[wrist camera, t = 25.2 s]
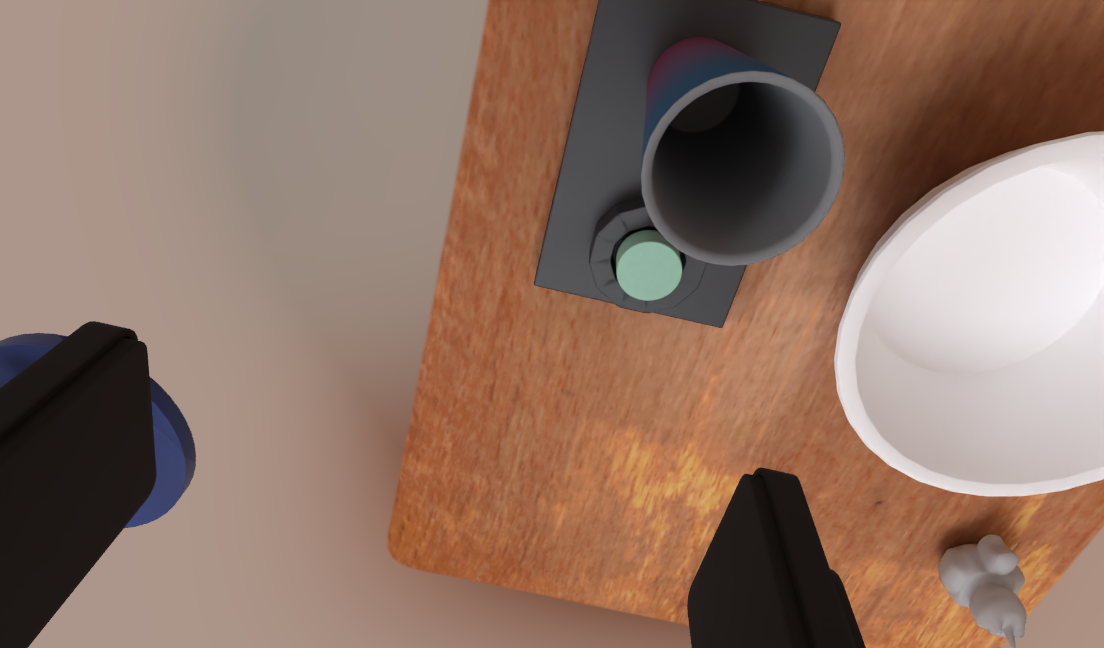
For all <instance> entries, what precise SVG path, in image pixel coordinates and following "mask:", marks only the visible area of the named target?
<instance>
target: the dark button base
mask: <svg viewBox="0 0 1104 648" xmlns="http://www.w3.org/2000/svg"><path fill="white" fill-rule="evenodd" d="M840 26H841V23H840V22H838V21H835V20H833V19H829V18H825V17H821V16H817V15H813V14H809V13H805V12H801V11H797V10H793V9H789V8H786V7H782V6H778V5H774V4H770V3H766V2H762V1H758V0H599V2H598V6H597V11H596V15H595V19H594V24H593V28H592V32H591V37H590V41H589V46H588V50H587V54H586V59H585V63H584V67H583V72H582V76H581V80H580V85H579V89H578V93H577V98H576V102H575V106H574V111H573V115H572V119H571V124H570V128H569V132H568V137H567V141H566V145H565V150H564V154H563V158H562V163H561V167H560V171H559V176H558V180H557V184H556V189H555V193H554V197H553V202H552V206H551V210H550V215H549V219H548V223H547V228H546V232H545V236H544V241H543V245H542V249H541V254H540V258H539V262H538V267H537V271H536V276H535V281H534V285H535V286H539V287H544V288H548V289H552V290H557V291H561V292H565V293H570V294H574V295H579V296H583V297H587V298H592V299H596V300H601V301H605V302H609V303H614V304H616V305H617V306H619V307H621V308H625V309H630V310H634V311H639V312H643V313H651V312H653V313H658V314H662V315H666V316H671V317H675V318H680V319H684V320H688V321H693V322H697V323H701V324H706V325H710V326H715V327H719V328H722V327H723V325H724V322H725V320H726V317H727V315H728V312H729V310H730V307H731V304H732V302H733V299H734V297H735V294H736V292H737V289H738V287H739V284H740V281H741V279H742V276H743V274H744V271H745V269H746V266H747V265H735V266H729V265H718V264H711V263H708V262H704V261H701V260H697V259H695V258H693V257H691V256H689V255H687V254H685V253H683V252H681V251H679V254H680V258H681V263H682V276H681V280H680V282H679V284H678V285H677V287H676V288H675V289H674V290H673V291H672V292H671V293H670V294H668V295H667V296H665V297H663V298H661V299H657V300H651V301H645V300H639V299H636V298H634V297H632V296H630V295H629V294H627V293H626V292H625V291H624V290H623V289H622V287H621V286H620V284H619V282H618V279H617V274H616V256H617V252H618V249H619V247H620V245H621V244H622V242H623V241H624V240H625V239H626V238H627V237H629V236H630V235H632V234H634V233H636V232H639V231H643V230H655V231H658V230H657V228H656V227H655V226H654V224H653V222H652V220H651V218H650V216H649V214H648V212H647V210H646V207H645V203H644V200H643V196H642V189H641V163H642V150H643V136H644V123H645V110H646V97H647V86H648V79H649V76H650V73H651V69H652V68H653V66H654V64H655V62H656V60H657V59H658V58H659V57H660V56H661V54H662V53H663V52H664V51H665V50H667V49H668V48H669V47H670V46H672V45H673V44H675V43H677V42H679V41H681V40H684V39H687V38H692V37H709V38H712V39H715V40H718V41H720V42H722V43H724V44H726V45H728V46H730V47H732V48H734V49H736V50H738V51H740V52H742V53H744V54H746V55H748V56H750V57H752V58H754V59H756V60H758V61H760V62H762V63H764V64H766V65H768V66H770V67H772V68H774V69H776V70H778V71H780V72H782V73H784V74H786V75H788V76H790V77H792V78H793V79H795V80H797V81H799V82H800V83H802V84H804V85H806V86H807V87H809V88H811V89H812V90H813V91H814V92H815V90H816V88H817V85H818V83H819V80H820V77H821V75H822V72H823V70H824V67H825V65H826V62H827V60H828V57H829V54H830V52H831V49H832V47H833V44H834V42H835V39H836V37H837V34H838V32H839V29H840Z"/></svg>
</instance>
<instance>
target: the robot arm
mask: <svg viewBox="0 0 1104 648" xmlns="http://www.w3.org/2000/svg"><path fill="white" fill-rule="evenodd" d="M156 476H157V471H156V458H155V445H154V432H153V418H152V405H151V392H150V379H149V366H148V353H147V347H146V345H145V343H143V342H141V341H138V339H137V335H136V334H135V332H134V331H132V330H131V329H127V328H122V327H118V326H113V325H109V324H104V323H100V322H95V321H93V322H88V323H86V324H84V325H83V326H81V327H80V328H79V329H77V330H76V331H75V332H73V333H72V334H71V335H69V336H68V337H67V338H65V339H64V340H63V341H62V342H60V343H59V344H58V345H56V346H55V347H54V348H52V349H51V350H50V351H48V352H47V353H46V354H44V355H43V356H42V357H40V358H39V359H38V360H37V361H35V362H34V363H33V364H31V365H30V366H29V367H27V368H26V369H25V370H23V371H22V372H21V373H19V374H18V375H17V376H16V377H14V378H13V379H12V380H10V381H9V382H8V383H6V384H5V385H4V386H2V387H1V388H0V648H28V647H29V645H30V644H31V643H32V642H33V640H34V639H35V638H36V637H37V635H38V634H39V633H40V632H41V630H42V629H43V628H44V627H45V625H46V624H47V623H48V622H49V620H50V619H51V618H52V617H53V616H54V614H55V613H56V612H57V611H58V609H59V608H60V607H61V605H62V604H63V603H64V602H65V601H66V599H67V598H68V597H69V596H70V594H71V593H72V592H73V591H74V589H75V588H76V587H77V586H78V584H79V583H80V582H81V581H82V579H83V578H84V577H85V576H86V574H87V573H88V572H89V571H90V569H91V568H92V567H93V566H94V565H95V563H96V562H97V561H98V560H99V558H100V557H101V556H102V555H103V553H104V552H105V551H106V549H107V548H108V547H109V546H110V545H111V543H112V542H113V541H114V540H115V538H116V537H117V536H118V535H119V533H120V532H121V531H122V530H123V528H124V527H125V526H126V525H127V523H128V522H129V521H130V520H131V519H132V517H133V516H134V515H135V514H136V512H137V511H138V510H139V509H140V507H141V506H142V505H143V504H144V502H145V501H146V500H147V499H148V497H149V496H150V494H151V492H152V490H153V488H154V485H155V482H156ZM687 607H688V618H689V627H690V636H691V644H692V648H866V647H865V645H864V642H863V639H862V636H861V633H860V630H859V628H858V625H857V622H856V619H855V616H854V614H853V611H852V608H851V605H850V602H849V600H848V597H847V594H846V591H845V588H844V586H843V583H842V581H841V579H840V577H839V575H838V574H837V573H836V572H835V571H833V570H831V569H830V568H829V565H828V562H827V559H826V557H825V554H824V551H823V548H822V545H821V542H820V539H819V536H818V533H817V530H816V527H815V525H814V522H813V519H812V516H811V513H810V510H809V507H808V504H807V501H806V498H805V495H804V493H803V490H802V487H801V484H800V481H799V479H798V477H797V476H795V475H793V474H788V473H784V472H779V471H775V470H770V469H766V468H758V469H757V470H756V471H755V472H754V474H753V475H750V474H744V475H743V476H742V478H741V479H740V481H739V484H738V486H737V488H736V490H735V492H734V494H733V496H732V499H731V501H730V503H729V505H728V507H727V509H726V512H725V514H724V516H723V518H722V520H721V522H720V524H719V527H718V529H717V531H716V533H715V535H714V537H713V540H712V542H711V544H710V546H709V548H708V550H707V552H706V555H705V557H704V559H703V561H702V563H701V565H700V568H699V570H698V572H697V574H696V576H695V578H694V581H693V583H692V585H691V588H690V591H689V595H688V605H687Z"/></svg>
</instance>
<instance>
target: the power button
mask: <svg viewBox="0 0 1104 648" xmlns="http://www.w3.org/2000/svg"><path fill="white" fill-rule="evenodd" d="M616 274H617V279H618V282H619V284H620V286H621V287H622V289H623V290H624V291H625V292H626V293H627V294H629V295H630V296H632V297H634V298H636V299H639V300H645V301H651V300H657V299H661V298H663V297H665V296H667V295H668V294H670V293H671V292H672V291H673V290H674V289H675V288H676V287H677V285H678V284H679V282H680V280H681V276H682V263H681V258H680V254H679V250H678V249H677V248H676V247H674V246H673V245H672V244H670V243H669V242H668V241H667V240H666V239H665V238H664V237H663V236H662V234H661V233H660V232H659V231H655V230H643V231H639V232H636V233H634V234H632V235H630V236H629V237H627V238H626V239H625V240H624V241H623V242H622V244H621V245H620V247H619V249H618V252H617V256H616Z"/></svg>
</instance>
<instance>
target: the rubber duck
mask: <svg viewBox="0 0 1104 648" xmlns="http://www.w3.org/2000/svg"><path fill="white" fill-rule="evenodd" d="M1018 561H1019V558H1018V556H1017V555H1016V554H1015V553H1014V552H1013V551H1012V550H1010V549H1008V548H1007V546H1006V545H1005V543H1004V542H1003V540H1002V538H1001V537H1000V536H998V535H987V536H985V537H983V538H982V539H981V540H980V541H979V543H978V544H964V545H960V546H957V547H954V548H950V549H948V550H947V551H946V552H945V554H944V555H943V557H942V559H941V560H940V562H939V565H938V571H939V576H940V580H941V582H942V584H943V585H944V587H945V588H946V589H947V591H948V593H949V594H950V596H951V597H952V598H953V600H954V601H955V602H956V603H957V604H958V605H960V606H963V607H967V608H969V610H970V612H971V614H972V615H973V617H974V620H975V623H976V624H977V625H978V626H979V627H981V628H984V629H987V630H988V631H989V632H990V633H991V634H993V635H996V636H1002V637H1006V638H1007V640H1008V641H1009V643H1010V644H1011V646H1012V647H1013V648H1015V639H1014V637H1023V636H1024V630H1025V623H1026V611H1025V608H1024V606H1023V604H1022V603H1021V601H1020V599H1019V598H1018V596H1017V595H1016V594H1017V593H1018V591H1019V590H1020V589H1021V587H1022V586H1023V584H1024V581H1025V578H1024V575H1023V573H1022V571H1021V570H1020V568H1019V567H1018V566H1017V564H1018Z"/></svg>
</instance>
